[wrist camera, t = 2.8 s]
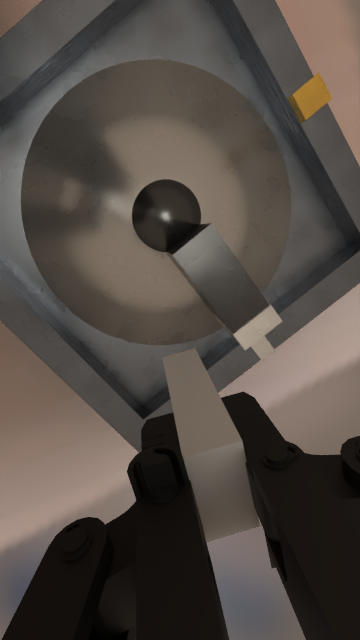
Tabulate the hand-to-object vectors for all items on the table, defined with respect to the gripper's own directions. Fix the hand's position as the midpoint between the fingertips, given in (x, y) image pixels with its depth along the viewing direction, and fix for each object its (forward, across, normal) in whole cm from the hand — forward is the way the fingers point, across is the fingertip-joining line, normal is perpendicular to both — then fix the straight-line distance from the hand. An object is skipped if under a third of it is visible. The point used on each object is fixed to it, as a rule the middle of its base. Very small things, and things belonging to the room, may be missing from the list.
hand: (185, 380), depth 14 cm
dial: (+10, +1, +7) cm, 12 cm away
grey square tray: (+12, +1, +7) cm, 14 cm away
